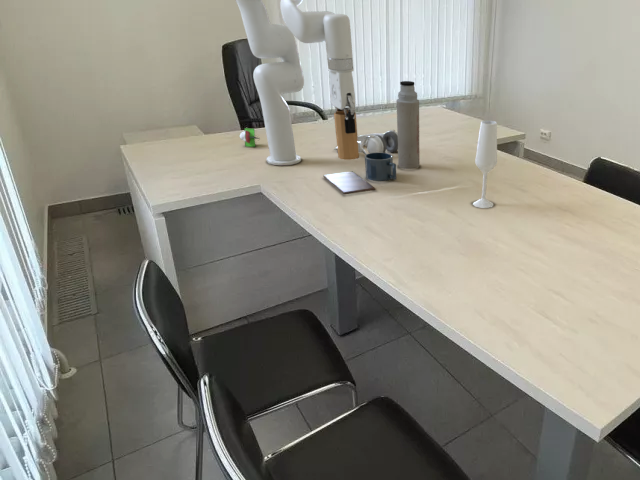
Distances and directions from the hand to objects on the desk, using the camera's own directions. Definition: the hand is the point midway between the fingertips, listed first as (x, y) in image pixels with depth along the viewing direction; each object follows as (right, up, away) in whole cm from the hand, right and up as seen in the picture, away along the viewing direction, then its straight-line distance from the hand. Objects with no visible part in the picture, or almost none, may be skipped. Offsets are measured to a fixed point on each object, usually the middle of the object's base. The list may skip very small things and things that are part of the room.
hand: (346, 129), depth 169 cm
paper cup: (0, -6, +5) cm, 8 cm away
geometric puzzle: (-48, +17, +47) cm, 69 cm away
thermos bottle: (+18, +1, +30) cm, 35 cm away
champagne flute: (+44, -24, +2) cm, 50 cm away
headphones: (+2, +15, +46) cm, 48 cm away
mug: (+10, -8, +18) cm, 22 cm away
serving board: (-2, -12, +13) cm, 18 cm away
